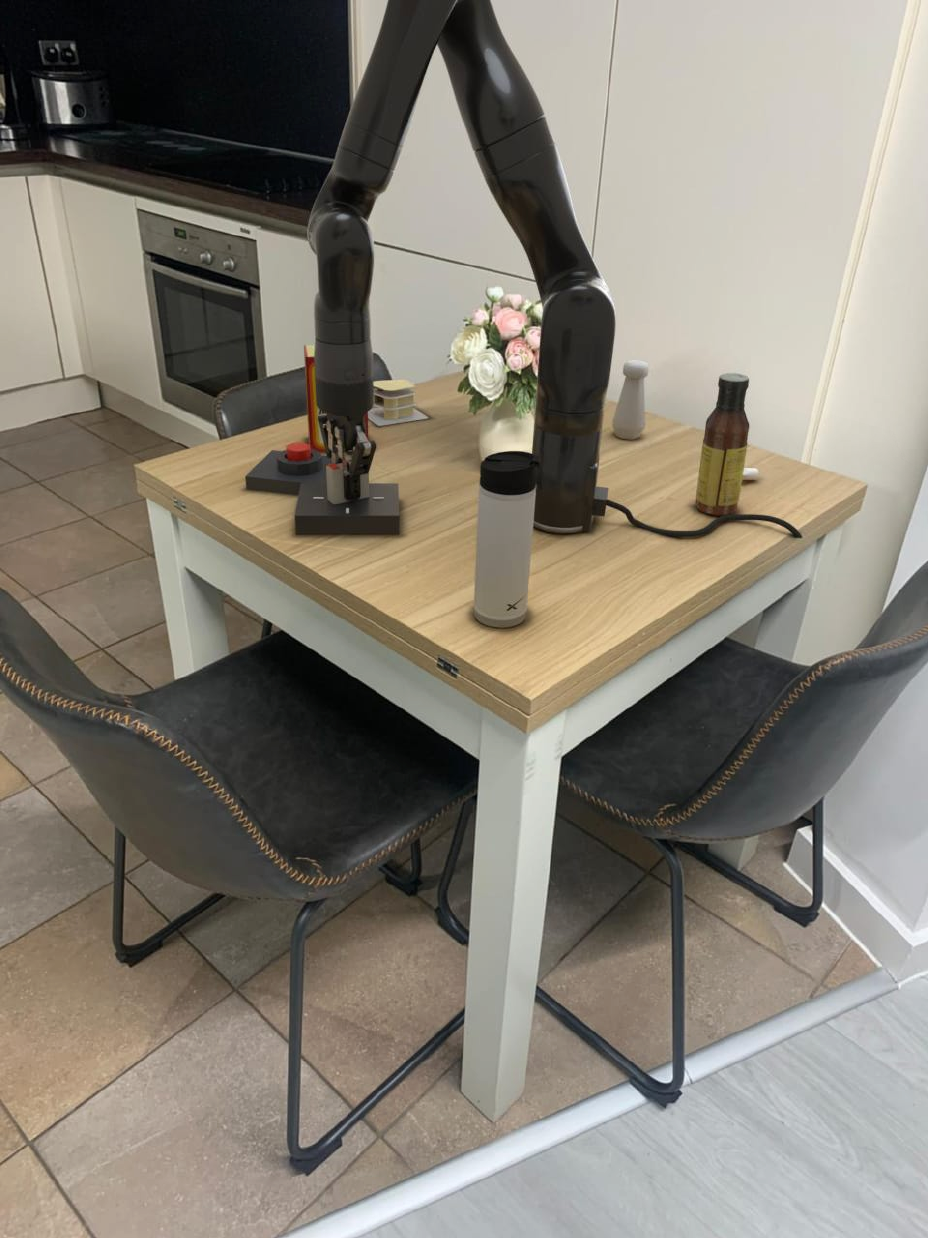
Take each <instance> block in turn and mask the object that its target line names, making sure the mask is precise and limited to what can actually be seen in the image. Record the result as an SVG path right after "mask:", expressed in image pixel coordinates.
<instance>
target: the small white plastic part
mask: <svg viewBox="0 0 928 1238" xmlns="http://www.w3.org/2000/svg"><path fill="white" fill-rule="evenodd" d="M759 477H760V472H759V470H758V469H757V468H754V467H745V466H744V471H743V477H742V481H743V480H744V481H756V480H757V479H759Z"/></svg>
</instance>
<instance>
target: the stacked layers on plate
mask: <svg viewBox="0 0 928 1238" xmlns="http://www.w3.org/2000/svg"><path fill="white" fill-rule="evenodd" d="M416 386H417V385H415V384H414V383H412V382H411V381H409V380H408V379H392V380H391V379H390V380H377V381H374V387H376V388H374V406H373V408H372V409H371V410H370V411H368V420H369V421H371V422H373V424H375V425H376V426H378V427H382V426H383V427H384V426H388V425H394V424H395V425H396V424H401V423H407V422H413V421H419V420H427V419H429V417H428V416H427V415H425V414H424V413H422V412H421V411H419V410H418V409H416V408H415V406H417V404H416V403H415V402H414V396H415V395H417V392H416V391H414V390H412V389H410V388H413V387H416Z"/></svg>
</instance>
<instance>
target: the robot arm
mask: <svg viewBox="0 0 928 1238" xmlns="http://www.w3.org/2000/svg"><path fill="white" fill-rule="evenodd" d="M495 13H496V12H495V10H494V7H493V4H492V1H491V0H387V3H386V7H385V10H384V14H383V18H382V21H381V24H380V28H379V30H378V35H377V38H376V40H375V43H374V46H373V49H372V50H371V51H372V52H371V55H370V57H369V59H368V62H367V65H366V67H365V71H364V73H363V76H362V78H361V79H360V83H359V86H358V88H357V90H356V94H355V95H354V99H353V101H352V104H351V107H350V109H349V112H348V116H347V118H346V122H345V125H344V128H343V130H342V133H341V137H340V140H339V143H338V146H337V149H336V152H335V156H334V160H333V164H332V166H331V169H330V170H329V172H328V174H327V175H326V178H325V180H324V182H323V183H322V186H321V188H320V191H319V192H318V195H317V197H316V199H315V202H314V204H313V207H312V209H311V212H310V214H309V218H308V223H307V227H306V228H307V229H306V235H307V241H308V245H309V247H310V249H311V250H312V252H313V253H314V255H315V256H316V262H317V284H318V286H317V288H318V292H317V293H316V295H315V297H314V303H313V305H314V306H313V311H314V312H313V315H314V317H313V318H314V341H315V342H314V345H315V351H314V362H315V382H316V404H317V407H318V409H319V410H321V411H322V412H324V413H326V414H325V415H321V416H318V422H319V426H320V431H321V435H322V439H323V443H324V447H325V451H326V452H325V456H327V458H328V459H329V458H332V463H335V464H339V463H343V473H344V475H343V477H344V498H345V499H346V500H347V501H352V500H357V499H359V498H360V497H361V483H360V475H363V474H368V473H369V474H370V470H371V467H372V463H373V460H374V457H375V454H376V452H377V451H376V450H377V442H376V441H375V440H374V439H373V440H369V438H368V439H367V438H366V436H365V435H366V426H365V421H364V415H365V414H366V413H367V412H368V411H370V410H371V409H372V408H374V407H375V406H374V389H375V388H374V387H375V386H374V382H375V381H374V353H373V347H372V338H371V337H372V326H371V324H372V323H371V304H370V302H371V301H370V300H371V293H372V288H373V279H374V278H373V277H374V271H375V241H374V240H375V239H374V235H373V231H372V228H371V226H370V225H369V219H370V217H371V215H372V213H373V210H374V208H375V205H376V202H377V200H378V198H379V196H381V195H382V194H384V193H385V192H386V191H387V190H388V188H389V187H390V185H391V183H392V180H393V178H394V176H395V171H396V170H397V168H398V164H399V161H400V159H401V157H402V153H403V150H404V148H405V145H406V141H407V139H408V135H409V133H410V129H411V126H412V123H413V120H414V116H415V113H416V110H417V106H418V102H419V99H420V96H421V92H422V89H423V86H424V82H425V79H426V77H427V76H426V75H427V73H428V69H429V66H430V64H431V62H432V58H433V56H434V53H435V51H436V47H437V48H438V50H439V53H440V55H441V57H442V60H443V63H444V65H445V68H446V71H447V75H448V78H449V80H450V85H451V89H452V91H453V96H454V99H455V102H456V105H457V108H458V111H459V115H460V117H461V120H462V123H463V126H464V129H465V132H466V135H467V138H468V140H469V143H470V146H471V149H472V151H473V154H474V157H475V159H476V162H477V164H478V166H479V169H480V172H481V174H482V177H483V178H484V181H485V183H486V185H487V187H488V190H489V191H490V193H491V195H492V197H493V199H494V201H495V203H496V205H497V207H498V209H499V210H500V211H501V214H502V215H503V218H505V220H506V222H507V223H508V225H509V226H510V228H511V229H512V231H513V233H514V234H515V237H516V238H517V239H518V241H519V242H520V244H521V246H522V249H523V250H524V253H525V255H526V257H527V260H528V263H529V265H530V268H531V271H532V275H533V277H534V281H535V285H536V287H537V291H538V294H539V298H540V303H541V307H542V312H541V313H542V314H541V322H540V335H539V347H538V348H539V349H538V363H537V374H536V395H535V405H534V406H535V407H534V417H533V418H534V420H533V432H532V433H533V434H532V446H531V453H532V454H534V455H537V456H541V466H540V467H539V468H537V465H536V471H537V476H536V496H535V508H534V521H533V528H536V529H538V530H540V531H544V532H547V533H552V534H564V535H565V534H575V533H576V534H577V533H581V532H584V533H590V532H591V528H592V525H593V522H594V521H593V520H594V517H595V516H596V517H606V511H607V507H609V508H611V509H614V510H617V511H619V512H621V513H623V514H624V515H625V516H626V519H627V521H628V522H629V523H630V524H631V525H633V526H635V527H636V528H639V529H642V530H645V531H648V532H651V533H654V534H658V535H661V536H665V537H677V538H691V537H699V536H703V535H705V534H708V533H710V532H711V531H713V530H714V529H715V528H716V527H717V526H718V525H720V524H722V523H724V522H729V521H760V522H761V521H762V522H769V523H773V524H776V525H778V526H781V527H783V528H784V529H786V530H787V531H788V532H789V533H791V534H792V535H793V536H794V537H795V538H797V539H803V536H802V534H801V532H800V531H799V530H798V529H797V528H796V527H795V526H793V525H792V524H791V523H789V522H788V521H786V520H784V519H782V518H779V517H776V516H773V515H768V514H767V515H765V514H758V513H757V514H756V513H753V514H752V513H751V514H750V513H749V514H748V513H742V514H741V513H736V514H735V513H732V514H730V515H725V516H718V517H717V518H715V519H714V520H712V521H710V523H709V524H707V525H705V526H704V527H701V528H699V529H696V530H695V529H694V530H693V529H692V530H671V529H663V528H659V527H654V526H651V525H648V524H646V523H643V522H642V521H641V520H638V519H637V518H635V517H634V515H633V513H632V512H631V510H630V509H629V508H627V507H626V506H625V505H623V504H621V503H618V502H617V501H616V502H615V501H614V500H611V499H608V498H609V497H608V496H609V487H604V486H597V485H598V484H597V483H598V475H599V467H600V458H601V453H600V452H601V443H602V436H603V435H602V434H603V425H604V416H605V408H606V401H607V400H606V399H607V394H608V389H609V385H610V378H611V371H612V370H611V369H612V360H613V353H614V345H615V336H616V325H617V313H616V307H615V300H614V297H613V295H612V292H611V291H610V287H609V286H608V285H607V283H606V281H605V279H604V277H603V276H602V273H601V272H600V269H599V268H598V266H597V264H596V262H595V260H594V258H593V255H592V254H591V252H590V250H589V247H588V246H587V245H588V244H587V243H586V240H585V238H584V236H583V233H582V231H581V228H580V225H579V224H578V220H577V216H576V213H575V209H574V208H575V207H574V204H573V199H572V195H571V191H570V188H569V184H568V180H567V176H566V173H565V170H564V166H563V163H562V159H561V156H560V153H559V149H558V147H557V144H556V140H555V138H554V135H553V133H552V130H551V127H550V124H549V122H548V119H547V116H546V113H545V111H544V108H543V106H542V104H541V101H540V100H539V97H538V95H537V93H536V91H535V89H534V88H533V85H532V83H531V82H530V79H529V78H528V75H527V74H526V73H525V70H524V68H523V67H522V65H521V64H520V62H519V60H518V58H517V57H516V55H515V53H514V51H513V50H512V49H511V47H510V45H509V43H508V41H507V39H506V38H505V35H504V34H503V32H502V28H501V27H500V24H499V21H498V19H497V16H496V14H495ZM368 440H369V441H368ZM352 450H354V451H352ZM351 459H352V460H351ZM350 461H351V464H350V465H349V462H350Z"/></svg>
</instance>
